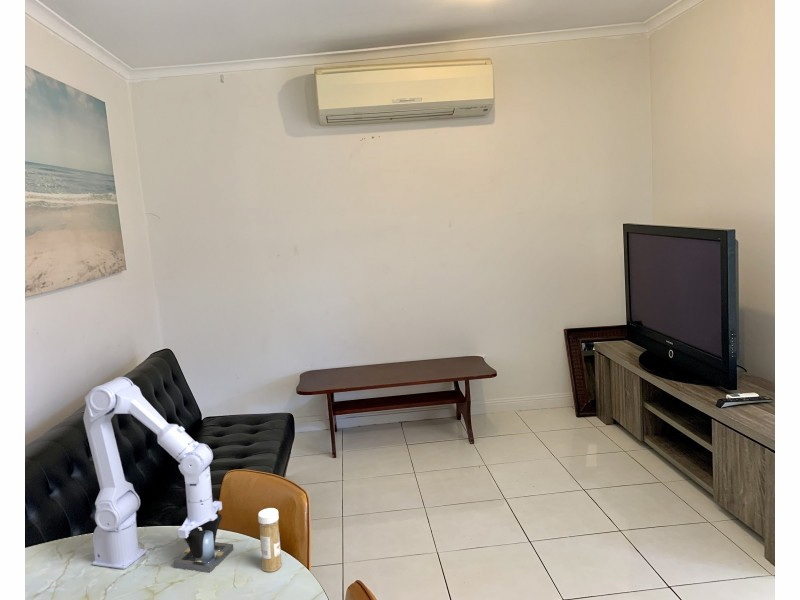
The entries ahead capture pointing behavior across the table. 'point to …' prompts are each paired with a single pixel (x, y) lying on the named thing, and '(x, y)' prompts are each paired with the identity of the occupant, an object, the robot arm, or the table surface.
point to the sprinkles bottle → (270, 539)
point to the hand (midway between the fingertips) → (203, 551)
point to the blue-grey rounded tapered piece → (207, 548)
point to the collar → (201, 566)
